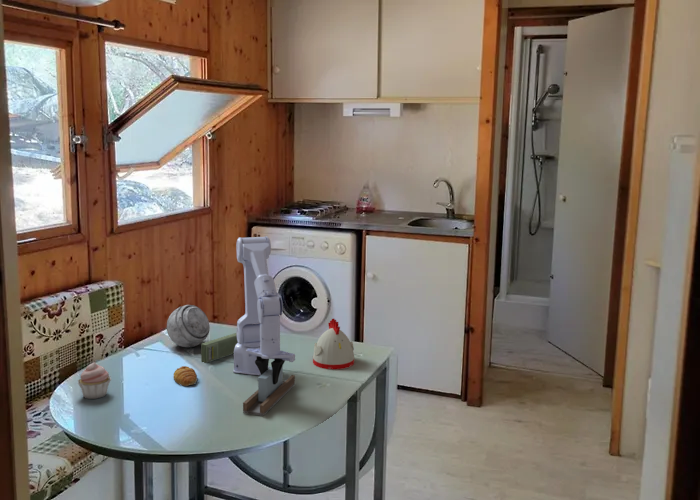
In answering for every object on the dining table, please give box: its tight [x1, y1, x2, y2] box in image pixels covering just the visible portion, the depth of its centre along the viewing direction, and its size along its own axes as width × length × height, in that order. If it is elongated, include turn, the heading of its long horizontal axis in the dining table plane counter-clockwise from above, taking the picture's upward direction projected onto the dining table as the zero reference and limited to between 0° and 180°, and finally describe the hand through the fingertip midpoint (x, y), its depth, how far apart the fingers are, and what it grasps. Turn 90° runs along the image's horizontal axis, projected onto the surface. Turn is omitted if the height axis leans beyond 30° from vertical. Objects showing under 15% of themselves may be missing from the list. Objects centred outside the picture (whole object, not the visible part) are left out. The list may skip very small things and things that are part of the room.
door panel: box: [257, 365, 284, 402], centre depth 197 cm, size 2×12×7 cm, turn 164°
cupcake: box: [77, 361, 112, 400], centre depth 197 cm, size 9×9×10 cm
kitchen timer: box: [312, 318, 355, 370], centre depth 227 cm, size 14×14×15 cm
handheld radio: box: [200, 332, 238, 364], centre depth 236 cm, size 7×3×25 cm
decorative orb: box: [166, 304, 211, 348], centre depth 241 cm, size 15×14×15 cm
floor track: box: [242, 374, 296, 417], centre depth 197 cm, size 6×24×3 cm, turn 164°
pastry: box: [172, 365, 198, 387], centre depth 209 cm, size 9×7×4 cm
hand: (270, 382), depth 197 cm, fingers closed on door panel, 2 cm apart
